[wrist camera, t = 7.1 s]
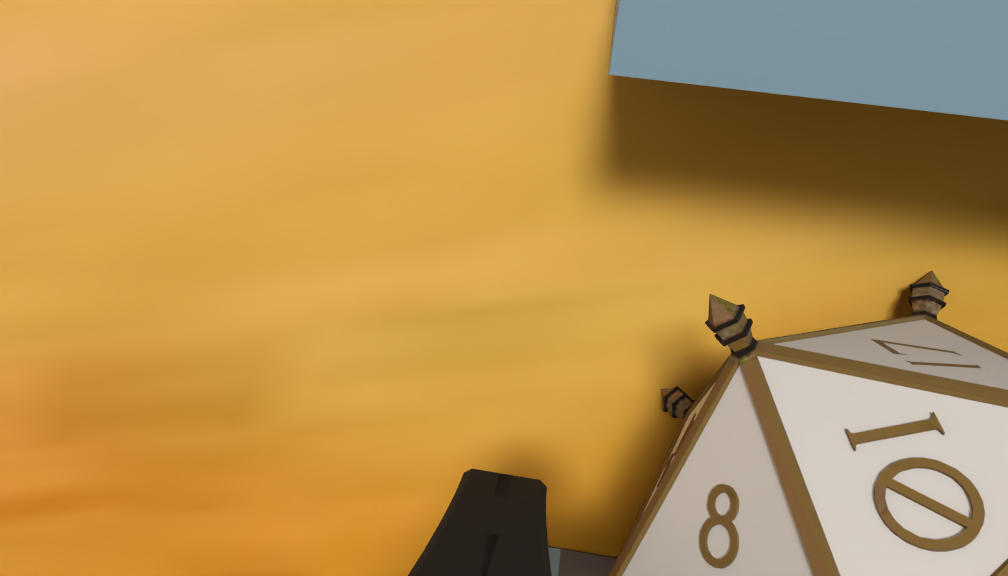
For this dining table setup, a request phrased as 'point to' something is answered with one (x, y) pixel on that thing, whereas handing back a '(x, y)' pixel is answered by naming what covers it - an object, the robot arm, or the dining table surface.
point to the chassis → (816, 68)
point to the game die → (835, 455)
